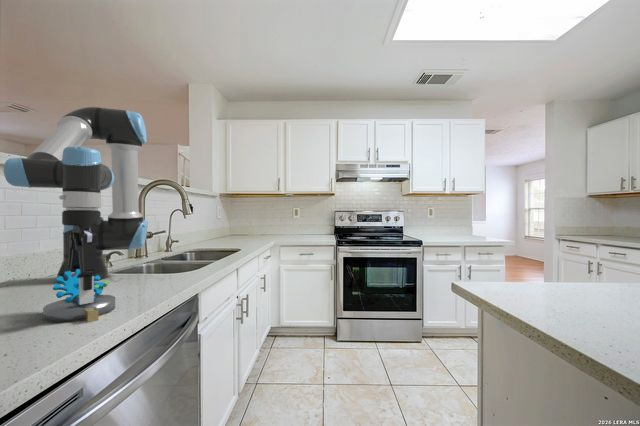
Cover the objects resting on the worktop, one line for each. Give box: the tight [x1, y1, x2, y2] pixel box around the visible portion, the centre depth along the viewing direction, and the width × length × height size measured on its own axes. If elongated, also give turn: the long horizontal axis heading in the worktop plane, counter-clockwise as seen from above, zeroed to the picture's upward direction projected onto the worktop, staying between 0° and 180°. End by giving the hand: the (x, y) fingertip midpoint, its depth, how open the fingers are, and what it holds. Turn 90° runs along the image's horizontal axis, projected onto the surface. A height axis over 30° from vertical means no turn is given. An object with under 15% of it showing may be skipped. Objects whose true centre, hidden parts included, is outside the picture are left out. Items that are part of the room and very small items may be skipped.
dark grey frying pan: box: [42, 294, 116, 324], centre depth 72 cm, size 17×14×2 cm
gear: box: [52, 269, 109, 304], centre depth 74 cm, size 11×6×10 cm
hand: (81, 299), depth 73 cm, fingers closed on gear, 8 cm apart
